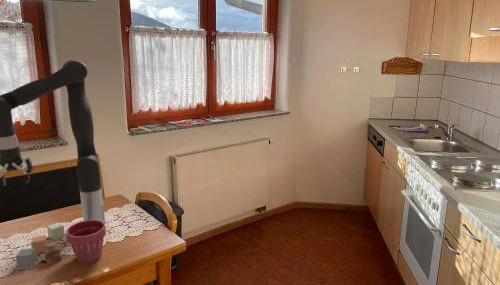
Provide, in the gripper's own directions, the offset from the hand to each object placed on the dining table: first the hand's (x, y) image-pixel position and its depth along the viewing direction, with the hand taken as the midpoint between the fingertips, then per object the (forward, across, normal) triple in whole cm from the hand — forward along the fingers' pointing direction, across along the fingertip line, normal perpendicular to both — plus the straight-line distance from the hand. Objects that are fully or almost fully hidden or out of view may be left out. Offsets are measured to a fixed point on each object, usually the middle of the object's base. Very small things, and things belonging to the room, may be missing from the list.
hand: (15, 183), depth 165 cm
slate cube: (+26, -5, +22) cm, 34 cm away
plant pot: (+27, -28, +23) cm, 45 cm away
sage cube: (+26, -12, 0) cm, 29 cm away
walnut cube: (+26, -14, +21) cm, 37 cm away
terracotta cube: (+26, -8, +11) cm, 29 cm away
